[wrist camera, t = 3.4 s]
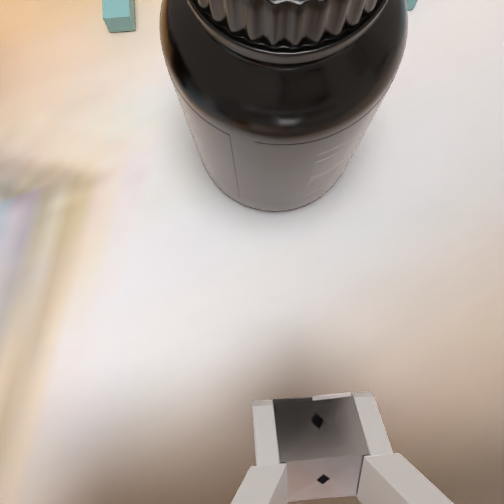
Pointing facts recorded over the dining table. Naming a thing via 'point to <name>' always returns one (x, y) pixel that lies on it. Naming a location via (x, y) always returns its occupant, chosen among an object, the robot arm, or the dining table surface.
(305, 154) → the supplement bottle
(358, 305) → the dining table surface
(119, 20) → the teal frame
